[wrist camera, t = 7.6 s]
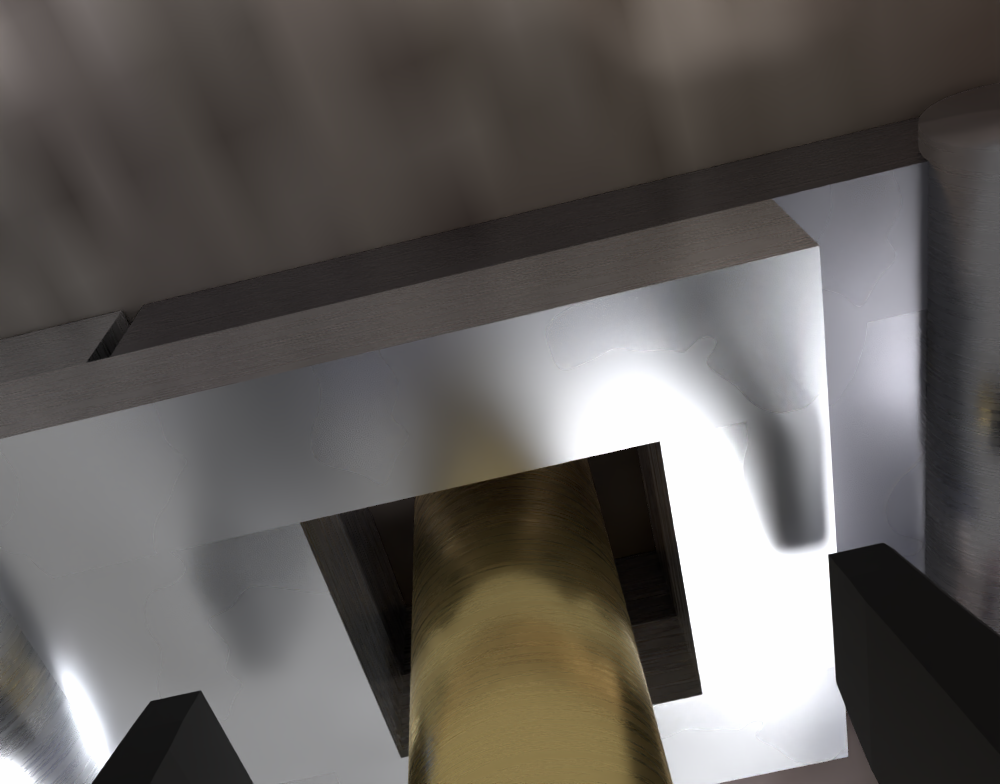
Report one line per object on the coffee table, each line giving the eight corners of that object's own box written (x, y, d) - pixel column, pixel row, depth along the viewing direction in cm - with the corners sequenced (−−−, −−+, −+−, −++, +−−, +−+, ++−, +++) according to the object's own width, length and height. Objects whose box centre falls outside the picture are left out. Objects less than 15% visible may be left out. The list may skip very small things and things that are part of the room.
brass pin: (594, 521, 15) (741, 1109, 8) (433, 548, 15) (436, 1156, 8) (576, 380, 13) (731, 935, 6) (399, 410, 13) (366, 992, 7)
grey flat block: (1131, 548, 16) (1253, 668, 13) (336, 718, 16) (320, 860, 14) (1212, 22, 11) (1413, 64, 9) (133, 285, 12) (63, 385, 10)
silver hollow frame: (781, 622, 16) (883, 846, 12) (18, 786, 17) (-96, 1040, 13) (732, 139, 12) (867, 263, 8) (-287, 387, 13) (-580, 602, 9)
